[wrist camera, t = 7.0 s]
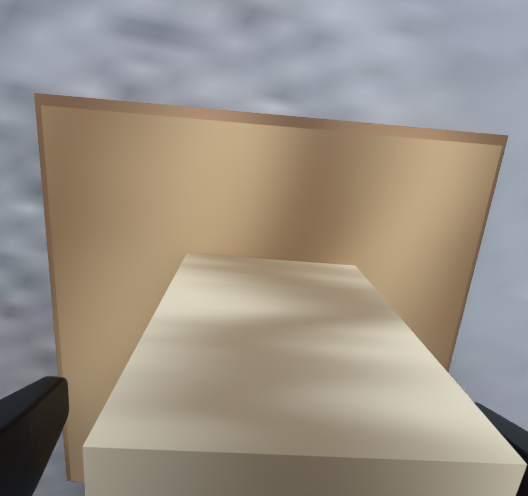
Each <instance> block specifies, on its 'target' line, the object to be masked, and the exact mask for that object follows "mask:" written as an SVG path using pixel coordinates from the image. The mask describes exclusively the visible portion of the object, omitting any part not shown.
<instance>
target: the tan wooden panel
mask: <svg viewBox="0 0 528 496" xmlns="http://www.w3.org/2000/svg"><path fill="white" fill-rule="evenodd" d="M34 95H35V107H36V119H37V130H38V142H39V154H40V166H41V178H42V189H43V201H44V213H45V225H46V236H47V248H48V260H49V272H50V283H51V295H52V307H53V319H54V330H55V342H56V354H57V366H58V377H64V378H66V379H67V381H68V393H69V414H68V418H67V421H66V423H65V425H64V427H63V436H64V448H65V460H66V472H67V481H71V482H84V464H83V445H84V443H85V441H86V439H87V438H88V436H89V434H90V432H91V430H92V428H93V426H94V425H95V423H96V421H97V419H98V417H99V415H100V413H101V412H102V410H103V408H104V406H105V404H106V402H107V400H108V399H109V397H110V395H111V393H112V391H113V389H114V387H115V386H116V384H117V382H118V380H119V378H120V376H121V374H122V373H123V371H124V369H125V367H126V365H127V363H128V361H129V360H130V358H131V356H132V354H133V352H134V350H135V348H136V347H137V345H138V343H139V341H140V339H141V337H142V335H143V334H144V332H145V330H146V328H147V326H148V324H149V323H150V321H151V319H152V317H153V315H154V313H155V311H156V310H157V308H158V306H159V304H160V302H161V300H162V298H163V297H164V295H165V293H166V291H167V289H168V287H169V285H170V284H171V282H172V280H173V278H174V276H175V274H176V272H177V271H178V269H179V267H180V265H181V263H182V261H183V259H184V258H185V256H186V254H187V253H196V254H209V255H222V256H235V257H248V258H261V259H275V260H288V261H301V262H314V263H327V264H340V265H353V266H356V267H357V268H358V269H359V270H360V271H361V273H362V274H363V275H364V276H365V277H366V278H367V280H368V281H369V282H370V283H371V284H372V285H373V286H374V288H375V289H376V290H377V291H378V292H379V293H380V295H381V296H382V297H383V298H384V299H385V300H386V302H387V303H388V304H389V305H390V306H391V307H392V308H393V310H394V311H395V312H396V313H397V314H398V315H399V317H400V318H401V319H402V320H403V321H404V322H405V324H406V325H407V326H408V327H409V328H410V329H411V330H412V332H413V333H414V334H415V335H416V336H417V337H418V339H419V340H420V341H421V342H422V343H423V344H424V346H425V347H426V348H427V349H428V350H429V351H430V352H431V354H432V355H433V356H434V357H435V358H436V359H437V361H438V362H439V363H440V364H441V365H442V366H443V368H444V369H445V370H446V371H447V372H448V371H449V367H450V363H451V359H452V355H453V351H454V347H455V343H456V339H457V335H458V331H459V327H460V323H461V320H462V316H463V312H464V308H465V304H466V300H467V296H468V292H469V288H470V284H471V280H472V276H473V272H474V268H475V264H476V261H477V257H478V253H479V249H480V245H481V241H482V237H483V233H484V229H485V225H486V221H487V217H488V213H489V209H490V205H491V202H492V198H493V194H494V190H495V186H496V182H497V178H498V174H499V170H500V166H501V162H502V158H503V154H504V150H505V146H506V143H507V139H508V136H507V135H496V134H485V133H473V132H462V131H451V130H440V129H429V128H418V127H406V126H395V125H384V124H373V123H362V122H351V121H339V120H328V119H317V118H306V117H295V116H284V115H272V114H261V113H250V112H239V111H228V110H217V109H205V108H194V107H183V106H172V105H161V104H150V103H138V102H127V101H116V100H105V99H94V98H83V97H72V96H60V95H49V94H38V93H34Z"/></svg>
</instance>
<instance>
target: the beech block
mask: <svg viewBox="0 0 528 496" xmlns="http://www.w3.org/2000/svg"><path fill="white" fill-rule="evenodd" d="M83 464H84V483H85V496H516V494H517V491H518V488H519V485H520V483H521V480H522V477H523V475H524V472H525V469H526V467H527V464H526V462H525V461H524V460H523V459H522V458H521V457H520V456H519V454H518V453H517V452H516V451H515V450H514V449H513V447H512V446H511V445H510V444H509V443H508V442H507V440H506V439H505V438H504V437H503V436H502V435H501V434H500V432H499V431H498V430H497V429H496V428H495V427H494V425H493V424H492V423H491V422H490V421H489V420H488V418H487V417H486V416H485V415H484V414H483V413H482V412H481V410H480V409H479V408H478V407H477V406H476V405H475V403H474V402H473V401H472V400H471V399H470V398H469V396H468V395H467V394H466V393H465V392H464V391H463V390H462V388H461V387H460V386H459V385H458V384H457V383H456V381H455V380H454V379H453V378H452V377H451V376H450V374H449V373H448V372H447V371H446V370H445V369H444V368H443V366H442V365H441V364H440V363H439V362H438V361H437V359H436V358H435V357H434V356H433V355H432V354H431V352H430V351H429V350H428V349H427V348H426V347H425V346H424V344H423V343H422V342H421V341H420V340H419V339H418V337H417V336H416V335H415V334H414V333H413V332H412V330H411V329H410V328H409V327H408V326H407V325H406V324H405V322H404V321H403V320H402V319H401V318H400V317H399V315H398V314H397V313H396V312H395V311H394V310H393V308H392V307H391V306H390V305H389V304H388V303H387V302H386V300H385V299H384V298H383V297H382V296H381V295H380V293H379V292H378V291H377V290H376V289H375V288H374V286H373V285H372V284H371V283H370V282H369V281H368V280H367V278H366V277H365V276H364V275H363V274H362V273H361V271H360V270H359V269H358V268H357V267H356V266H353V265H340V264H327V263H314V262H301V261H288V260H275V259H261V258H248V257H235V256H222V255H209V254H196V253H187V254H186V256H185V258H184V259H183V261H182V263H181V265H180V267H179V269H178V271H177V272H176V274H175V276H174V278H173V280H172V282H171V284H170V285H169V287H168V289H167V291H166V293H165V295H164V297H163V298H162V300H161V302H160V304H159V306H158V308H157V310H156V311H155V313H154V315H153V317H152V319H151V321H150V323H149V324H148V326H147V328H146V330H145V332H144V334H143V335H142V337H141V339H140V341H139V343H138V345H137V347H136V348H135V350H134V352H133V354H132V356H131V358H130V360H129V361H128V363H127V365H126V367H125V369H124V371H123V373H122V374H121V376H120V378H119V380H118V382H117V384H116V386H115V387H114V389H113V391H112V393H111V395H110V397H109V399H108V400H107V402H106V404H105V406H104V408H103V410H102V412H101V413H100V415H99V417H98V419H97V421H96V423H95V425H94V426H93V428H92V430H91V432H90V434H89V436H88V438H87V439H86V441H85V443H84V445H83Z"/></svg>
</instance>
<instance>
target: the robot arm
mask: <svg viewBox="0 0 528 496" xmlns="http://www.w3.org/2000/svg"><path fill="white" fill-rule="evenodd" d="M474 403H475V405H476V406H477V407H478V408H479V409H480V410H481V412H482V413H483V414H484V415H485V416H486V417H487V418H488V420H489V421H490V422H491V423H492V424H493V425H494V427H495V428H496V429H497V430H498V431H499V432H500V434H501V435H502V436H503V437H504V438H505V439H506V440H507V442H508V443H509V444H510V445H511V446H512V447H513V449H514V450H515V451H516V452H517V453H518V454H519V456H520V457H521V458H522V459H523V460H524V461H525V462H526V464H527V467H526V469H525V472H524V475H523V477H522V480H521V483H520V485H519V488H518V491H517V494H516V496H528V432H527V431H526V430H524V429H522V428H521V427H519V426H517V425H515V424H514V423H512V422H510V421H509V420H507V419H505V418H504V417H502V416H500V415H498V414H497V413H495V412H493V411H492V410H490V409H488V408H486V407H485V406H483V405H481V404H479V403H477V402H474ZM68 414H69V393H68V381H67V379H66V378H64V377H55V376H46V377H44V378H42V379H40V380H38V381H36V382H34V383H32V384H30V385H28V386H26V387H24V388H22V389H20V390H18V391H16V392H14V393H12V394H10V395H8V396H6V397H5V398H3V399H1V400H0V496H32V495H33V493H34V491H35V489H36V487H37V485H38V483H39V481H40V478H41V476H42V474H43V472H44V470H45V467H46V465H47V463H48V461H49V459H50V456H51V454H52V452H53V450H54V447H55V445H56V443H57V441H58V439H59V436H60V434H61V432H62V430H63V427H64V425H65V423H66V421H67V418H68Z"/></svg>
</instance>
